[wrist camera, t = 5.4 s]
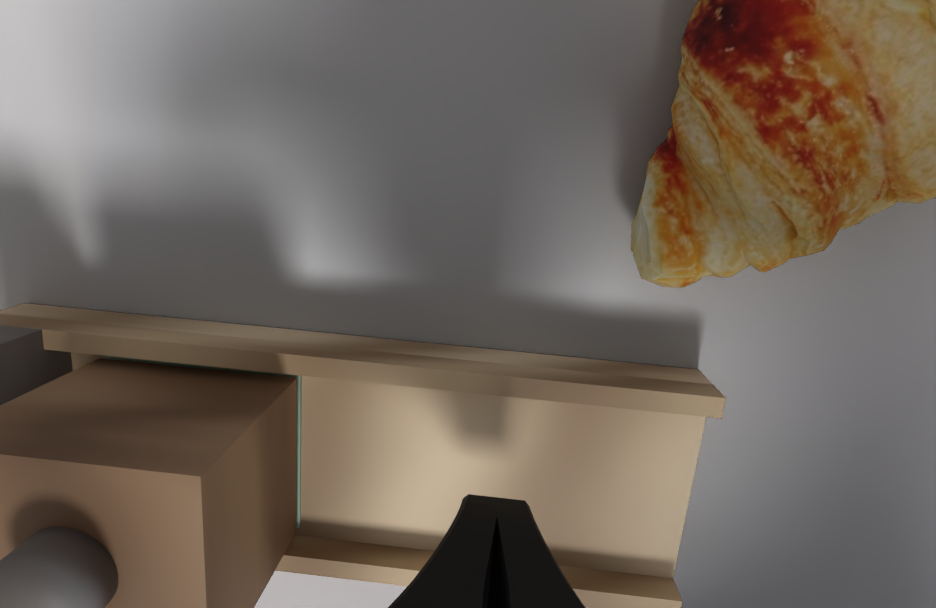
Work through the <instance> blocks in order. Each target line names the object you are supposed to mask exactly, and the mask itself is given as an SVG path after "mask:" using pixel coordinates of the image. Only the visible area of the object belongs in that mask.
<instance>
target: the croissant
mask: <svg viewBox="0 0 936 608" xmlns="http://www.w3.org/2000/svg"><path fill="white" fill-rule="evenodd" d="M680 51H681V55H682V62H681V65H680V69H679V73H678V81H679V88H678V91H677V93H676V96H675V99H674V102H673V105H672V108H671V112H672V118H673V120H672V124H673V126H672V127H671V128H670V129H668V133H667V137H666V140H665V141H664V142H663V143H662V144H661V145H660V146H658V147H657V149H656V150H655V152H654V154H653V155H652V157H651V158H650V160H649V161H648V166H647V174H646V180H645V185H644V189H643V193H642V196H641V200H640V204H639V207H638V211H637V214H636V217H635V219H634V221H633V223H632V234H631V250H632V252H633V256H634V259H635V261H636V264H637V267H638V270H639V273H640V276H641V278H642V279H645V280H647V281H650V282H652V283H655V284H657V285H660V286H665V287H676V288H677V287H685V286H687V285H690V284H692V283H694V282H696V281H699V280H700V279H701V278H702V277H706V276H716V277H731V276H733V275H735V274H736V273H738V272H740V271H741V270H743V269H745V268H746V267H748V266H750V265H751V266H753V267H754V268H756V269H757V270H758V271H760V272H766V271H768V270H771V269H773V268H775V267H777V266H780V265H782V264H784V263H785V262H786V261H787V260H788V259H790V258H795V257H801V256H807V255H810V254H814V253H817V252H821V251H824V250H825V249H826V248H827V247H828V245H829V244H830V243H831V242H832V240H833V238H834V237H835V235H836V233H837V232H838V230H839V229H842V228H847V227H850V226H853V225H855V224H858V223H860V222H861V221H863V220H864V219H865V218H867V217H869V216H871V215H873V214H876V213H878V212H880V211H883V210H885V209H887V208H889V207H892V206H893V205H894V204H895V203H896V202H904V203H921V202H924V201H926V200H929V199H932V198H935V197H936V0H699V2H698V3H697V5H696V6H695V8H694V10H693V11H692V14H691V17H690V19H689V22H688V25H687V27H686V30H685V33H684V36H683V39H682V45H681V50H680Z"/></svg>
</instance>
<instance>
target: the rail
mask: <svg viewBox="0 0 936 608" xmlns="http://www.w3.org/2000/svg"><path fill="white" fill-rule="evenodd" d="M99 358H103V359H113V360H122V361H132V362H142V363H152V364H162V365H171V366H181V367H191V368H201V369H210V370H220V371H230V372H240V373H249V374H259V375H269V376H279V377H289V378H297V438H296V534H295V536H294V538H293V539H292V541H291V543H290V545H289V547H288V548H287V550H286V552H285V554H284V555H283V557H282V559H281V561H280V562H279V564H278V566H277V568H276V569H275V571H284V572H292V573H301V574H309V575H318V576H326V577H335V578H343V579H352V580H360V581H369V582H377V583H386V584H394V585H403V586H408V585H409V584H410V583H411V582H412V580H413V579H414V578H415V577H416V575H417V574H418V573H419V571H420V570H421V569H422V568H423V566H424V565H425V564H426V562H427V561H428V560H429V558H430V557H431V556H432V554H433V553H434V551H435V550H436V548H437V547H438V545H439V544H440V542H441V541H442V539H443V537H444V536H445V534H446V533H447V531H448V530H449V528H450V526H451V524H452V522H453V521H454V519H455V517H456V515H457V513H458V511H459V508H460V506H461V503H462V500H463V498H464V497H465V496H467V495H468V494H471V495H480V496H489V497H498V498H507V499H516V500H525V501H526V502H527V504H528V505H529V506H530V509H531V512H532V514H533V517H534V519H535V522H536V524H537V526H538V528H539V530H540V532H541V534H542V536H543V538H544V540H545V542H546V544H547V546H548V548H549V550H550V552H551V554H552V555H553V557H554V559H555V561H556V562H557V564H558V566H559V568H560V569H561V571H562V573H563V574H564V576H565V578H566V579H567V581H568V582H569V584H570V586H571V587H572V589H573V590H574V592H575V593H576V595H577V596H578V598H579V599H580V601H581V602H582V603H583V605H584V606H585V607H590V608H681V606H682V599H681V597H680V594H679V592H678V589H677V587H676V584H675V582H674V580H673V576H674V571H675V566H676V561H677V556H678V552H679V547H680V542H681V537H682V532H683V527H684V522H685V518H686V513H687V508H688V503H689V498H690V493H691V488H692V484H693V479H694V474H695V469H696V464H697V459H698V455H699V450H700V445H701V440H702V435H703V430H704V425H705V421H706V417H711V418H721V419H722V414H723V410H724V405H725V400H726V398H725V397H724V396H723V395H722V394H721V392H720V391H719V390H718V389H717V388H716V387H715V386H714V385H713V384H712V383H711V382H710V381H709V380H708V379H707V378H706V377H705V376H704V375H703V374H702V372H701V371H700V370H699V369H689V368H678V367H668V366H658V365H648V364H638V363H628V362H617V361H607V360H597V359H587V358H577V357H567V356H556V355H546V354H536V353H526V352H516V351H506V350H496V349H485V348H475V347H465V346H455V345H445V344H435V343H424V342H414V341H404V340H394V339H384V338H374V337H363V336H353V335H343V334H333V333H323V332H313V331H303V330H292V329H282V328H272V327H262V326H252V325H242V324H231V323H221V322H211V321H201V320H191V319H181V318H170V317H160V316H150V315H140V314H130V313H120V312H110V311H99V310H89V309H79V308H69V307H59V306H49V305H38V304H28V303H24V304H20V305H17V306H13V307H10V308H6V309H3V310H0V405H2V404H4V403H6V402H8V401H11V400H13V399H15V398H17V397H19V396H21V395H23V394H25V393H27V392H30V391H32V390H34V389H36V388H38V387H40V386H42V385H44V384H46V383H48V382H51V381H53V380H55V379H57V378H59V377H61V376H63V375H65V374H67V373H69V372H72V371H74V370H76V369H78V368H80V367H82V366H84V365H86V364H88V363H91V362H93V361H95V360H97V359H99Z"/></svg>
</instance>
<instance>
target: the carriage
mask: <svg viewBox="0 0 936 608" xmlns="http://www.w3.org/2000/svg"><path fill="white" fill-rule="evenodd" d="M296 438H297V378H289V377H279V376H269V375H259V374H249V373H240V372H230V371H220V370H210V369H201V368H191V367H181V366H171V365H162V364H152V363H142V362H132V361H122V360H113V359H103V358H99V359H97V360H95V361H93V362H91V363H88V364H86V365H84V366H82V367H80V368H78V369H76V370H74V371H72V372H69V373H67V374H65V375H63V376H61V377H59V378H57V379H55V380H53V381H51V382H48V383H46V384H44V385H42V386H40V387H38V388H36V389H34V390H32V391H30V392H27V393H25V394H23V395H21V396H19V397H17V398H15V399H13V400H11V401H8V402H6V403H4V404H2V405H0V608H254V606H255V605H256V603H257V601H258V599H259V598H260V596H261V594H262V592H263V591H264V589H265V587H266V585H267V583H268V582H269V580H270V578H271V576H272V575H273V573H274V571H275V569H276V568H277V566H278V564H279V562H280V561H281V559H282V557H283V555H284V554H285V552H286V550H287V548H288V547H289V545H290V543H291V541H292V539H293V538H294V536H295V534H296Z"/></svg>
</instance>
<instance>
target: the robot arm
mask: <svg viewBox="0 0 936 608" xmlns="http://www.w3.org/2000/svg"><path fill="white" fill-rule="evenodd" d="M388 608H585V606H584V605H583V603H582V602H581V601H580V599H579V598H578V596H577V595H576V593H575V592H574V590H573V589H572V587H571V586H570V584H569V582H568V581H567V579H566V578H565V576H564V574H563V573H562V571H561V569H560V568H559V566H558V564H557V562H556V561H555V559H554V557H553V555H552V554H551V552H550V550H549V548H548V546H547V544H546V542H545V540H544V538H543V536H542V534H541V532H540V530H539V528H538V526H537V524H536V522H535V519H534V517H533V514H532V512H531V509H530V506H529V505H528V504H527V502H526V501H525V500H516V499H507V498H498V497H489V496H480V495H471V494H468V495H467V496H465V497H464V498H463V500H462V503H461V506H460V508H459V511H458V513H457V515H456V517H455V519H454V521H453V522H452V524H451V526H450V528H449V530H448V531H447V533H446V534H445V536H444V537H443V539H442V541H441V542H440V544H439V545H438V547H437V548H436V550H435V551H434V553H433V554H432V556H431V557H430V558H429V560H428V561H427V562H426V564H425V565H424V566H423V568H422V569H421V570H420V571H419V573H418V574H417V575H416V577H415V578H414V579H413V580H412V582H411V583H410V584H409V585H408V586H407V588H406V589H405V590H404V591H403V592H402V593H401V594H400V596H399V597H398V598H397V599H396V600H395V601H394V602H393V603H392V604H391V605H390V606H389V607H388Z"/></svg>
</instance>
